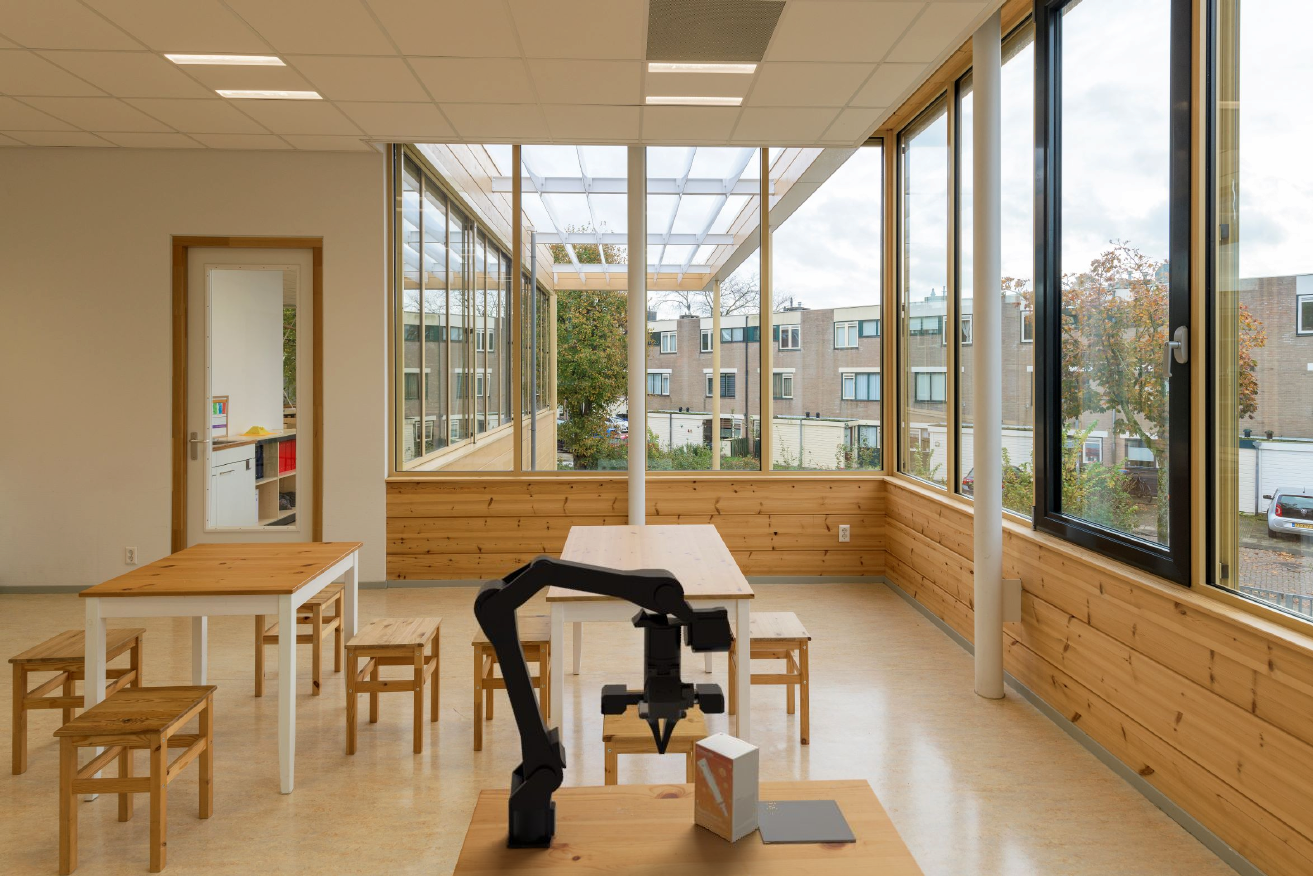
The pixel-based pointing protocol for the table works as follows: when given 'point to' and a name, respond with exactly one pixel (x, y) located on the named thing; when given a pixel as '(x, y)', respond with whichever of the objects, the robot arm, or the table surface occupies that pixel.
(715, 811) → the small box
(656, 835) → the table surface
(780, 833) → the mat
